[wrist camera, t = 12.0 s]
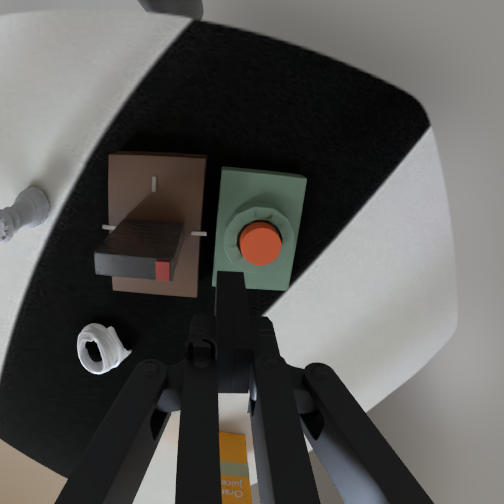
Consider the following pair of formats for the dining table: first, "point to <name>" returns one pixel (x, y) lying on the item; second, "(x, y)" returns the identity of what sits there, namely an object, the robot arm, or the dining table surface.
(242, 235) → the button
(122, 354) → the white folded cloth ring
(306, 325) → the dining table surface
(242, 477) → the orange juice
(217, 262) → the button block
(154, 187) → the panel
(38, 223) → the rook chess piece
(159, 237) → the red-tipped grey box
